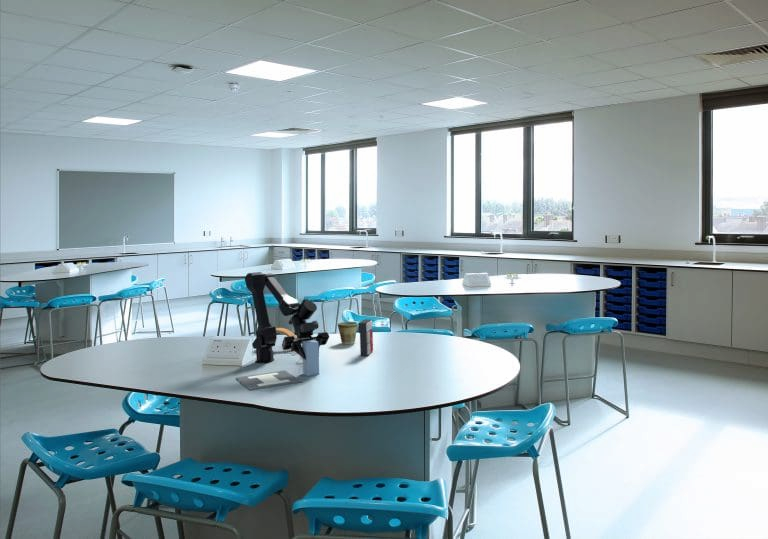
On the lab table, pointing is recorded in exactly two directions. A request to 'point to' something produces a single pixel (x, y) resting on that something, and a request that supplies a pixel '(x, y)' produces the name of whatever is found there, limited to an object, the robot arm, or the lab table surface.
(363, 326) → the black and red box
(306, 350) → the blue block
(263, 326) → the robot arm
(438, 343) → the lab table surface
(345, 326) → the ceramic cup
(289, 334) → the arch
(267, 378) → the letter mat
